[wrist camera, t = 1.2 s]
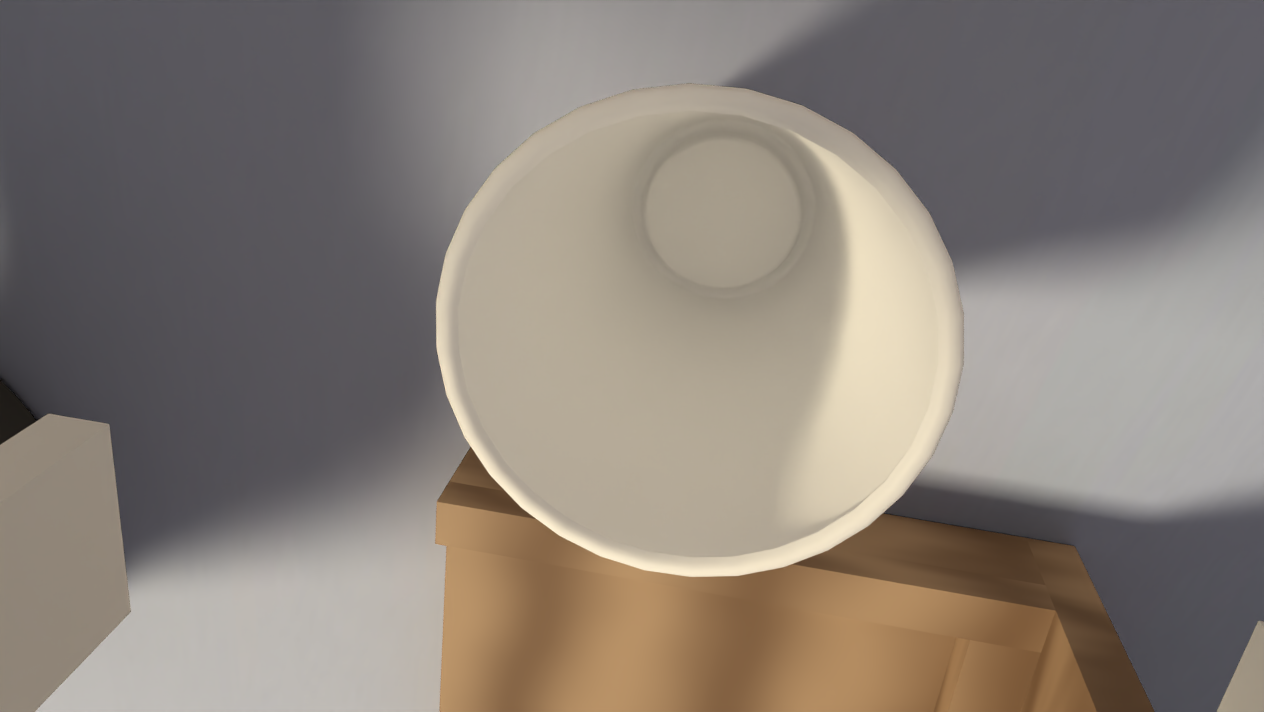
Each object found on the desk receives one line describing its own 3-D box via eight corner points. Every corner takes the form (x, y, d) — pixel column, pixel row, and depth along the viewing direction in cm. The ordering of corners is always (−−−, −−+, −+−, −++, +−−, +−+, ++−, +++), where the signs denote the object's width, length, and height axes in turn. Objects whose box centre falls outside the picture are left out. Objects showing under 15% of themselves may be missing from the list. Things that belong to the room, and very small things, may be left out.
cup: (945, 303, 28) (1034, 500, 18) (636, 409, 31) (566, 631, 21) (828, -34, 25) (858, -17, 15) (497, 117, 28) (339, 213, 18)
